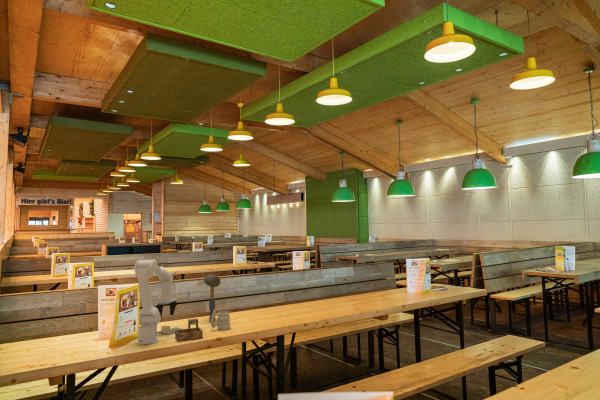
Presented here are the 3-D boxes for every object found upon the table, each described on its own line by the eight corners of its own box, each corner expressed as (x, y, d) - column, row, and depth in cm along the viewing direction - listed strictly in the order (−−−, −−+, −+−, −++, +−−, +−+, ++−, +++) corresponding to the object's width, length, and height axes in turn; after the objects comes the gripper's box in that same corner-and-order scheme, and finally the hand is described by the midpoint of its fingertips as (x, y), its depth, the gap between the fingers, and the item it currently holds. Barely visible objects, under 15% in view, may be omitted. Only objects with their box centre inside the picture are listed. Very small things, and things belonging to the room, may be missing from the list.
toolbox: (177, 341, 203) (177, 327, 204) (173, 334, 218) (173, 321, 218) (202, 338, 209) (202, 324, 210) (197, 331, 223) (197, 318, 224)
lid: (167, 336, 217) (167, 328, 217) (156, 333, 223) (156, 325, 223) (186, 331, 227) (186, 323, 228) (175, 329, 233) (176, 321, 234)
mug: (232, 329, 227) (231, 308, 228) (212, 332, 222) (212, 311, 223) (228, 326, 234) (228, 306, 235) (209, 329, 229) (209, 308, 230)
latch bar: (191, 324, 219) (191, 322, 219) (188, 321, 228) (188, 319, 228) (196, 324, 220) (196, 322, 220) (193, 320, 229) (193, 318, 229)
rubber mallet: (203, 320, 251) (203, 274, 254) (214, 319, 255) (214, 273, 258) (210, 324, 241) (210, 276, 243) (221, 322, 245) (221, 275, 248)
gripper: (159, 294, 216) (158, 319, 215) (181, 291, 228) (180, 314, 227) (152, 293, 220) (151, 317, 219) (173, 290, 232) (173, 313, 231)
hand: (166, 316), depth 223 cm, fingers open, 7 cm apart
